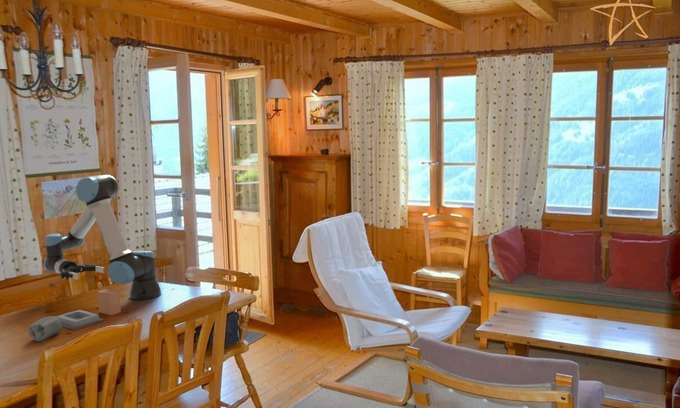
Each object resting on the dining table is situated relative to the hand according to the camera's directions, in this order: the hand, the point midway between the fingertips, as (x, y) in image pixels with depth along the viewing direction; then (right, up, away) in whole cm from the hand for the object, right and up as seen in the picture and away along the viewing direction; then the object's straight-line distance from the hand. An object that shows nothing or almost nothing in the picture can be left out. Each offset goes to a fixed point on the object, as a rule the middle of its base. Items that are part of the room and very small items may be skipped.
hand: (91, 273), depth 278 cm
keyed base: (+2, -19, -17) cm, 26 cm away
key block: (+11, -17, -4) cm, 21 cm away
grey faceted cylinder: (-3, -22, -36) cm, 42 cm away
